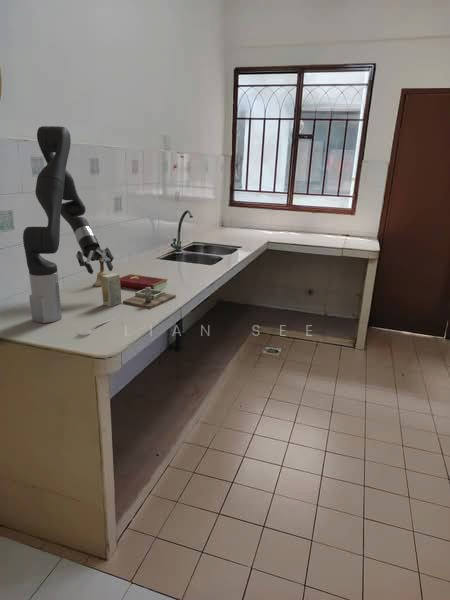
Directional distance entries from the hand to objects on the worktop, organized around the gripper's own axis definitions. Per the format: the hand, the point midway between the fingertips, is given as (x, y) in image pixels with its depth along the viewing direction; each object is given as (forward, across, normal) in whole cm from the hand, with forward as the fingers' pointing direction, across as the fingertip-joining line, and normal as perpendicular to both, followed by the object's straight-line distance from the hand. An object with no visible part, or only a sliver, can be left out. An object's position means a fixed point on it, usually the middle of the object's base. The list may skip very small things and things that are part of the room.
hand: (101, 271), depth 173 cm
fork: (+28, -15, -9) cm, 33 cm away
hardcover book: (+4, +24, +15) cm, 28 cm away
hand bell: (-7, +12, +25) cm, 28 cm away
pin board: (+17, +15, 0) cm, 23 cm away
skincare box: (+14, 0, +4) cm, 14 cm away
